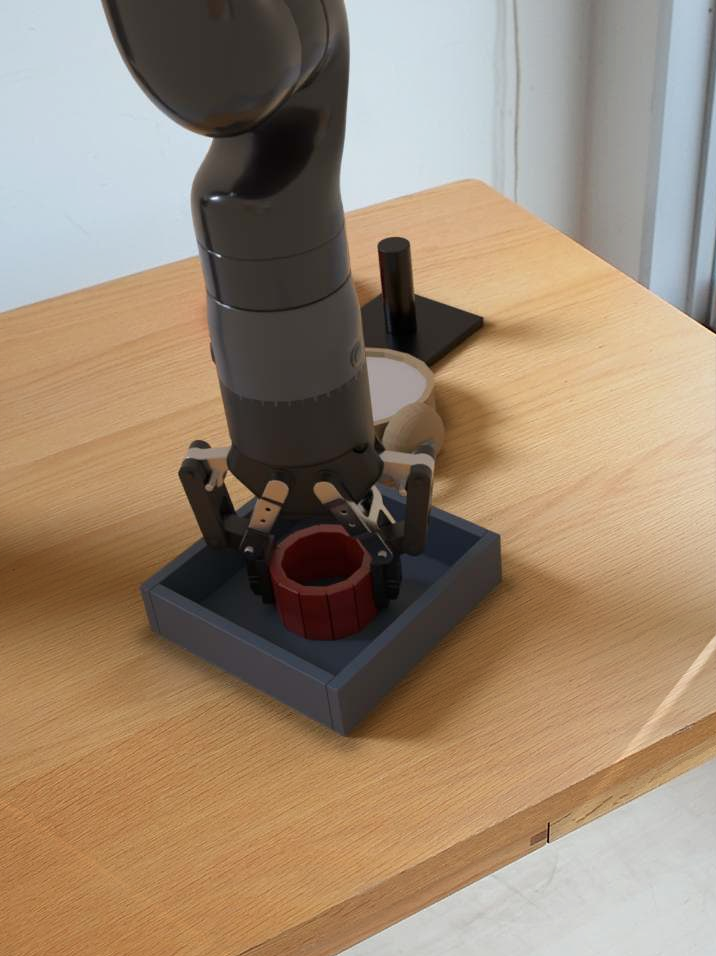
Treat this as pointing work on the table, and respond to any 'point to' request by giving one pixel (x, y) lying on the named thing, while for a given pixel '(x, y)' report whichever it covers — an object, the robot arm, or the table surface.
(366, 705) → the box
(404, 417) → the alarm clock
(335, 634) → the ring
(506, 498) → the table surface
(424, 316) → the post
